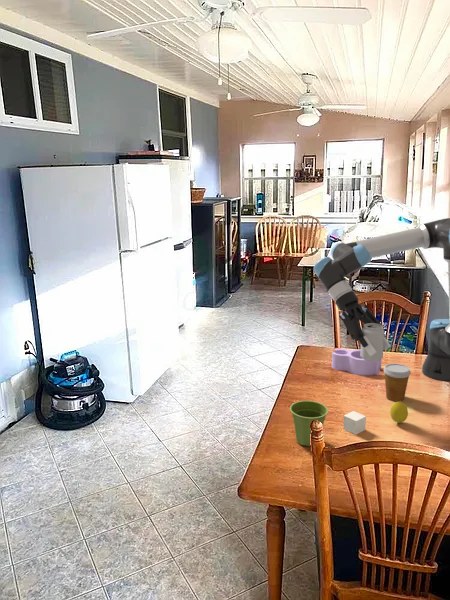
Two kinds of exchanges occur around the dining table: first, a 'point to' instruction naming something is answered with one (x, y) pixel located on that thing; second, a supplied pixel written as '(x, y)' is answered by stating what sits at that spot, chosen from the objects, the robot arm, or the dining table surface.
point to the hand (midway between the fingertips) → (380, 351)
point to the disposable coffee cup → (396, 381)
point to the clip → (354, 362)
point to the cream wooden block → (354, 422)
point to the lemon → (399, 412)
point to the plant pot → (306, 418)
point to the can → (373, 341)
